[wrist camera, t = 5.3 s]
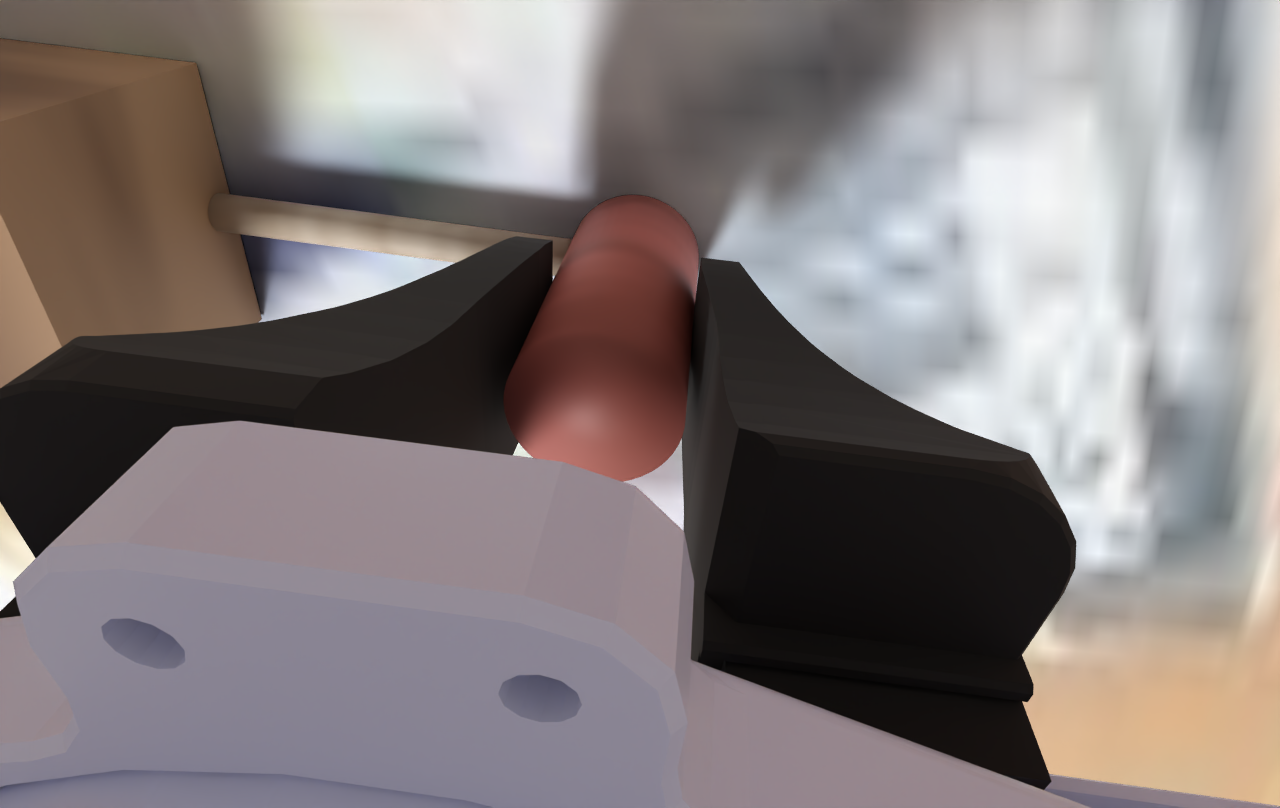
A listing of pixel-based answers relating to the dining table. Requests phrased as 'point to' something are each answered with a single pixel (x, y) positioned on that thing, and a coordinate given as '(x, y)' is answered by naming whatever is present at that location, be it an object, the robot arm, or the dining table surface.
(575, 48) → the dining table surface
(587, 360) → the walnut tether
